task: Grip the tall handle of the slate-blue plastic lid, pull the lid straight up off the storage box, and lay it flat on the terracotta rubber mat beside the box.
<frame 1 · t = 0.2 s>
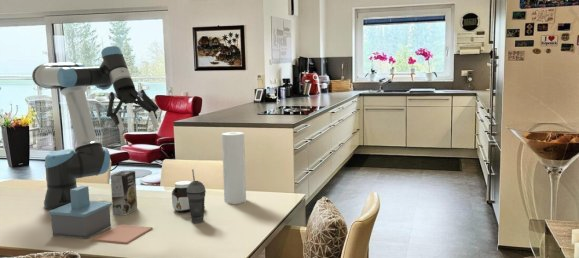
hand: (140, 129, 193), 35 cm above the table, tool tilted 35°, fingers open, 13 cm apart
beverage cup: (197, 221, 196), on the table
paper towel roll: (235, 201, 223), on the table
rubber mat: (123, 234, 182), on the table
lid: (81, 212, 186), point 7 cm above the table, touching storage box
spread jar: (189, 210, 211), on the table
storage box: (82, 230, 187), on the table
coffee box: (125, 212, 211), on the table
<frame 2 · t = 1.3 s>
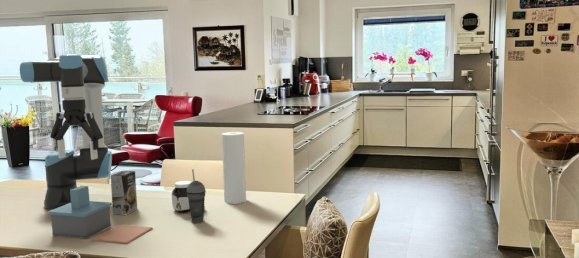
hand: (78, 158, 184), 27 cm above the table, tool pointing down, fingers open, 13 cm apart
nothing on the table moved.
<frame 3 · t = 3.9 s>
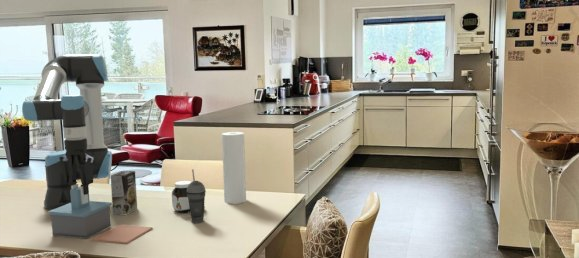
hand: (80, 202, 186), 11 cm above the table, tool pointing down, fingers closed on lid, 3 cm apart
lid: (81, 212, 186), point 7 cm above the table, touching gripper, storage box
everything else where it was.
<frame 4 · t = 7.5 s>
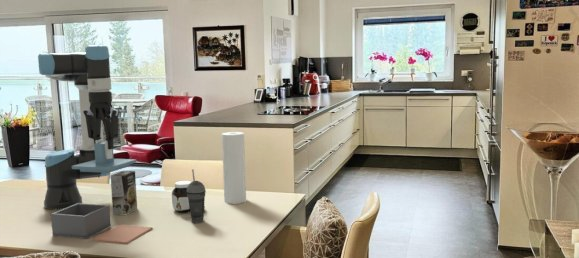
hand: (104, 158, 180), 27 cm above the table, tool pointing down, fingers closed on lid, 3 cm apart
lid: (105, 168, 180), point 24 cm above the table, touching gripper
everything else where it was.
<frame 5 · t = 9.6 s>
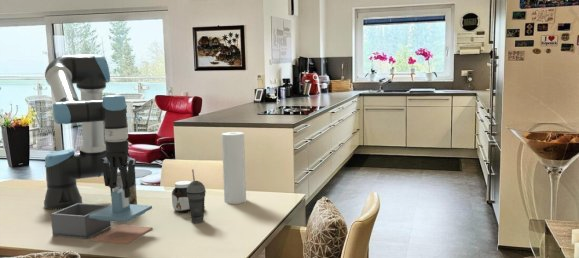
hand: (121, 206, 181), 10 cm above the table, tool pointing down, fingers closed on lid, 3 cm apart
lid: (121, 216, 181), point 7 cm above the table, touching gripper
everything else where it was.
when the fingers open (6 cm above the table, at t = 11.1 s): lid drops 1 cm, resting on rubber mat.
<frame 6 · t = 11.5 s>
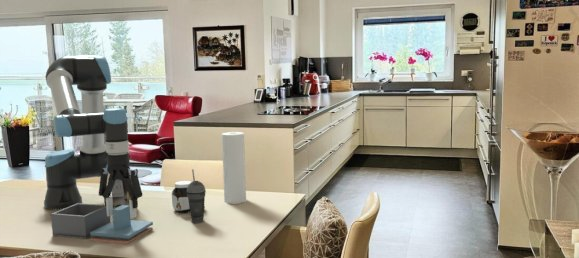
hand: (121, 216, 181), 7 cm above the table, tool pointing down, fingers open, 9 cm apart
lid: (122, 232, 182), point 1 cm above the table, touching rubber mat
everything else where it was.
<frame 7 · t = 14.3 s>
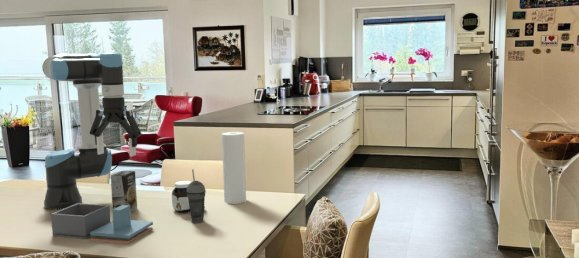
hand: (116, 154, 188), 27 cm above the table, tool pointing down, fingers open, 13 cm apart
nothing on the table moved.
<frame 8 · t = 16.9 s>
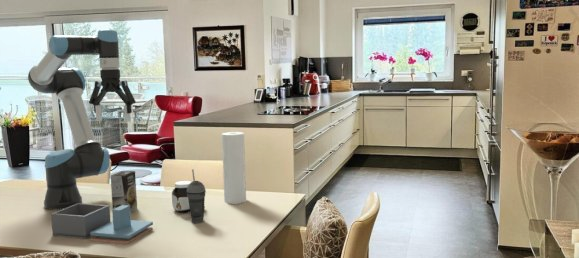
hand: (113, 121, 210), 37 cm above the table, tool pointing down, fingers open, 13 cm apart
nothing on the table moved.
at the end: lid inside the target area on the rubber mat (0.1 cm from its centre), point 0.6 cm above the rubber mat's base; lid tilted 0°; the gripper is holding nothing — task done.
